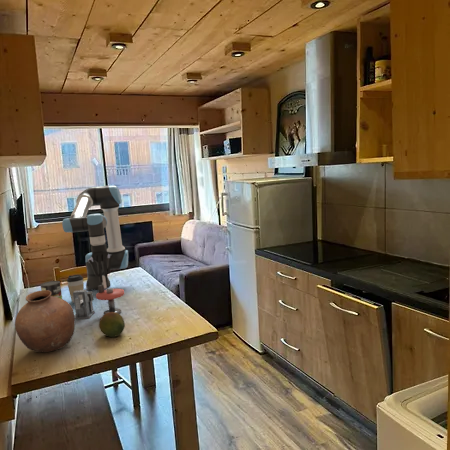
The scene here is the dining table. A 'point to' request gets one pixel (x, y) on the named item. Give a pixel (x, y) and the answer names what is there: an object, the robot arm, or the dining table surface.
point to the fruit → (112, 324)
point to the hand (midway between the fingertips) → (104, 288)
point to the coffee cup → (75, 285)
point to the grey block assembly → (86, 309)
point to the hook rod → (80, 303)
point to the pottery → (45, 322)
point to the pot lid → (108, 293)
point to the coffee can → (52, 288)
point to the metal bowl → (112, 307)
